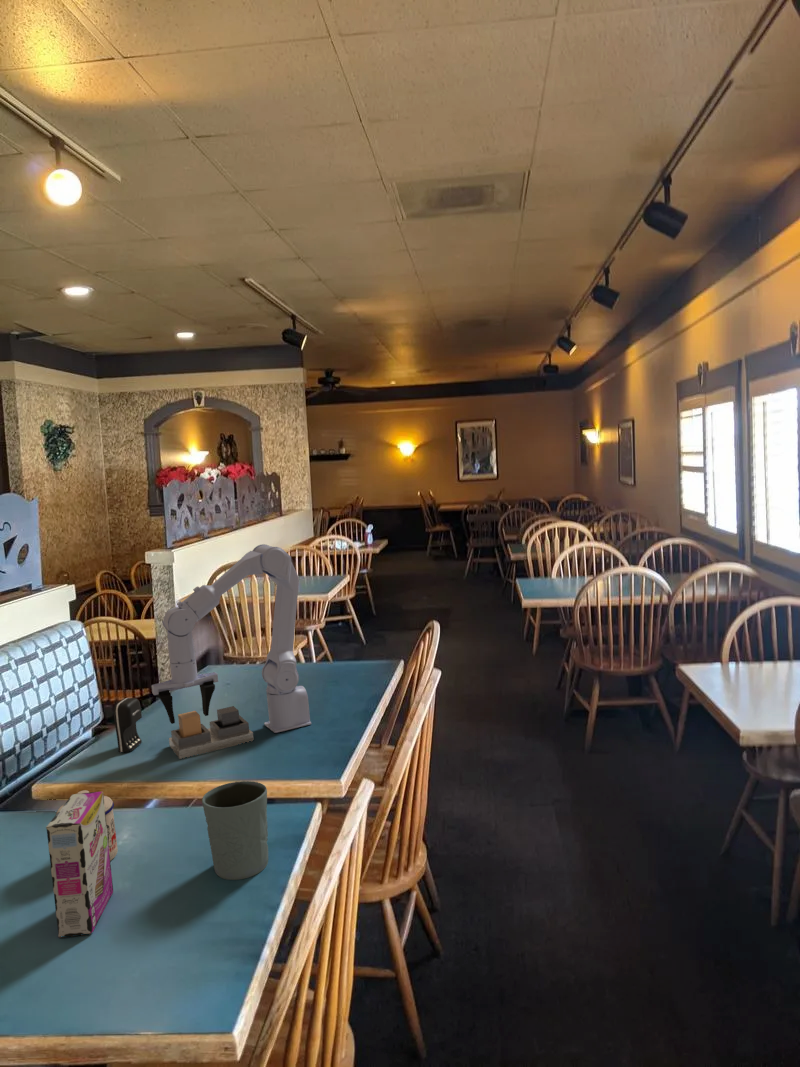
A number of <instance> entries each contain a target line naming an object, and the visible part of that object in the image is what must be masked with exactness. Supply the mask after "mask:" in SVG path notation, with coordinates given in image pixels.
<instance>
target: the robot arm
mask: <svg viewBox="0 0 800 1067" xmlns="http://www.w3.org/2000/svg"><path fill="white" fill-rule="evenodd" d="M263 574H266V575H267V576H268V578H269V579H271V580H272V581H273V582H274V583H275V586H276V587H275V599H274V610H273V621H272V636H271V645H270V650H269V651H268V653H267V654H266V661H265V663H264V665H263V667H262V669H261V677H262V680H263V681H264V682H265V683H266V684H267V686H266V689H265V690H266V702H267V711H268V721H265V722H264V724H263V725H264V726H265V727H267V728H268V729H269V730H270V731H271V732H273V733H275V734H277V733H280V732H285V731H289V730H294V729H297V728H300V727H305V726H309V725H312V721H311V715H310V714H311V713H310V706H309V704H310V703H309V696H308V692H307V690H306V688H305V687H304V686H303V685H298V684H299V679H300V675H299V672H298V670H297V659H296V657H295V654H294V644H295V643H294V641H295V631H296V617H297V607H298V596H299V585H300V584H299V583H300V578H299V575H298V573H297V570H296V569H295V566H294V564H293V562H292V556H291V555H290V554H289V553H288V552H287V551H286V550H284V549H283V548H282V547H279V546H271V545H268V544H264V543H263V544H259V545H257V546H255V547H254V548H253V549H252V550H249V551H248V552H246V553H245V554H244V555H243V556H242V557H241V558H240V559H239V560H238V561H236V562H235V563H234V564H233V565H232V566H231V567H230V568H229V569H227V571H225V572H224V573H223V574H222V575H221V576H220V577H219V578H218V579H216V580H215V581H214V582H213V583H212V584H211V585H208V584H203V585H201V586H195V588H193V591H194V592H193V593H191V594H190V595H189V596H187V597H185V599H184V600H182V601H180V600H179V601H178V602H176V605H177V607H176V606H175V607H172V608H170V609H168V610H166V611H165V613H164V616H163V619H162V622H161V623H162V626H163V628H164V629H166V635H167V636H166V637H167V650H168V659H169V668H170V675H171V679H169V680H166V681H162V682H160V683H159V682H158V683H155V684H151V692H152V694H153V696H158V698H159V699H160V701H161V703H162V704H163V706H164V709H165V710H166V713H167V716H168V720H169V722H170V724H171V725H172V724H175V723H176V719H175V714H174V708H173V707H174V706H173V695H172V694H171V691H177V690H182V689H185V688H192V687H195V686H199V688H200V694H201V701H202V702H201V706H202V713H203V715H204V716H205V717H208V716H209V711H210V705H211V700H212V697H213V695H214V691H215V689H216V684H215V683H218V682H219V677H218V673H217V672H216V671H214V672H208V673H207V672H206V673H198V668H197V666H198V665H197V658H196V649H195V640H194V636H193V631H194V630H195V626H196V623H197V622H199V621H201V619H203V618H204V617H205V616H206V615H208V614H209V613H210V612H211V611H213V610H214V609H215V608H216V607H217V606H218V605H219V604H220V601H221V600H220V599H221V596H223V595H224V594H225V593H226V592H228V591H229V590H231V589H232V588H233V587H234V586H236V585H237V584H239V583H240V582H242V581H243V580H244V579H245V578H246V577H248V576H255V575H263Z"/></svg>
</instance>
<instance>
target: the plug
mask: <svg viewBox="0 0 800 1067" xmlns="http://www.w3.org/2000/svg"><path fill="white" fill-rule="evenodd" d="M177 718H178V719H177V720H178V727H179V728H178V729H180V737H181V738H183V737H187V736H191V735H195V734H199V733H202V731H201V724H202V723H201V716H200V714H199V713H198V712H197V711H196V710H193V711H192V710H191V711H188V712H183V713H179V714H177Z"/></svg>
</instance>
